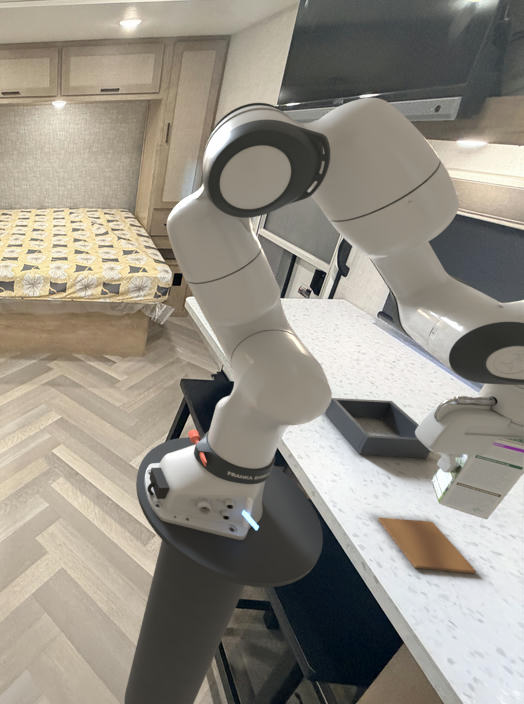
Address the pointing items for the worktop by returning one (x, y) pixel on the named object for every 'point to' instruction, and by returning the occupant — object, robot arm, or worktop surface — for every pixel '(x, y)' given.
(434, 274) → the robot arm
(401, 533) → the mat
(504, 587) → the worktop surface
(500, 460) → the syrup box
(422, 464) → the worktop surface
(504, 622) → the worktop surface
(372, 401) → the bin
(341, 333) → the worktop surface
